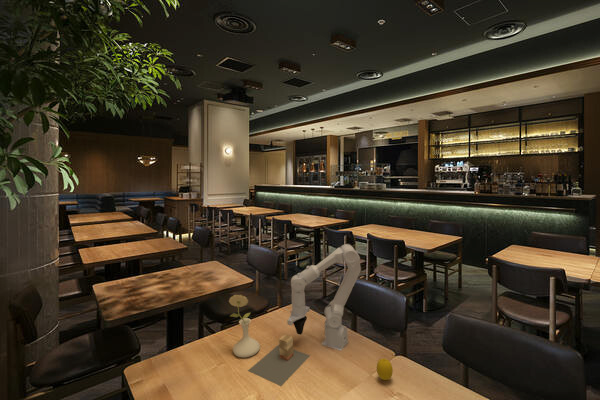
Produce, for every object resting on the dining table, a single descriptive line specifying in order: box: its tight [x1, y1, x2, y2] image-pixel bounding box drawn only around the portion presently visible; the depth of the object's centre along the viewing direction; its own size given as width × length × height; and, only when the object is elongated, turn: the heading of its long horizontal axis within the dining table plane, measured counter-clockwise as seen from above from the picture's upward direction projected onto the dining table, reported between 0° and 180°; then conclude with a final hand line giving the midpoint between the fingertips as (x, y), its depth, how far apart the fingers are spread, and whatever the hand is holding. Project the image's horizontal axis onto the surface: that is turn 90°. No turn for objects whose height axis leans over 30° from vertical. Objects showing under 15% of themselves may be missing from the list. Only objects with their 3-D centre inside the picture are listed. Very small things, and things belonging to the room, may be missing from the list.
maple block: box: [278, 334, 294, 361], centre depth 119 cm, size 4×4×8 cm
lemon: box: [376, 358, 394, 381], centre depth 105 cm, size 6×6×8 cm
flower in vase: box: [228, 294, 261, 358], centre depth 124 cm, size 13×11×25 cm
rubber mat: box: [247, 344, 311, 387], centre depth 116 cm, size 16×20×1 cm
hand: (299, 333), depth 128 cm, fingers closed
